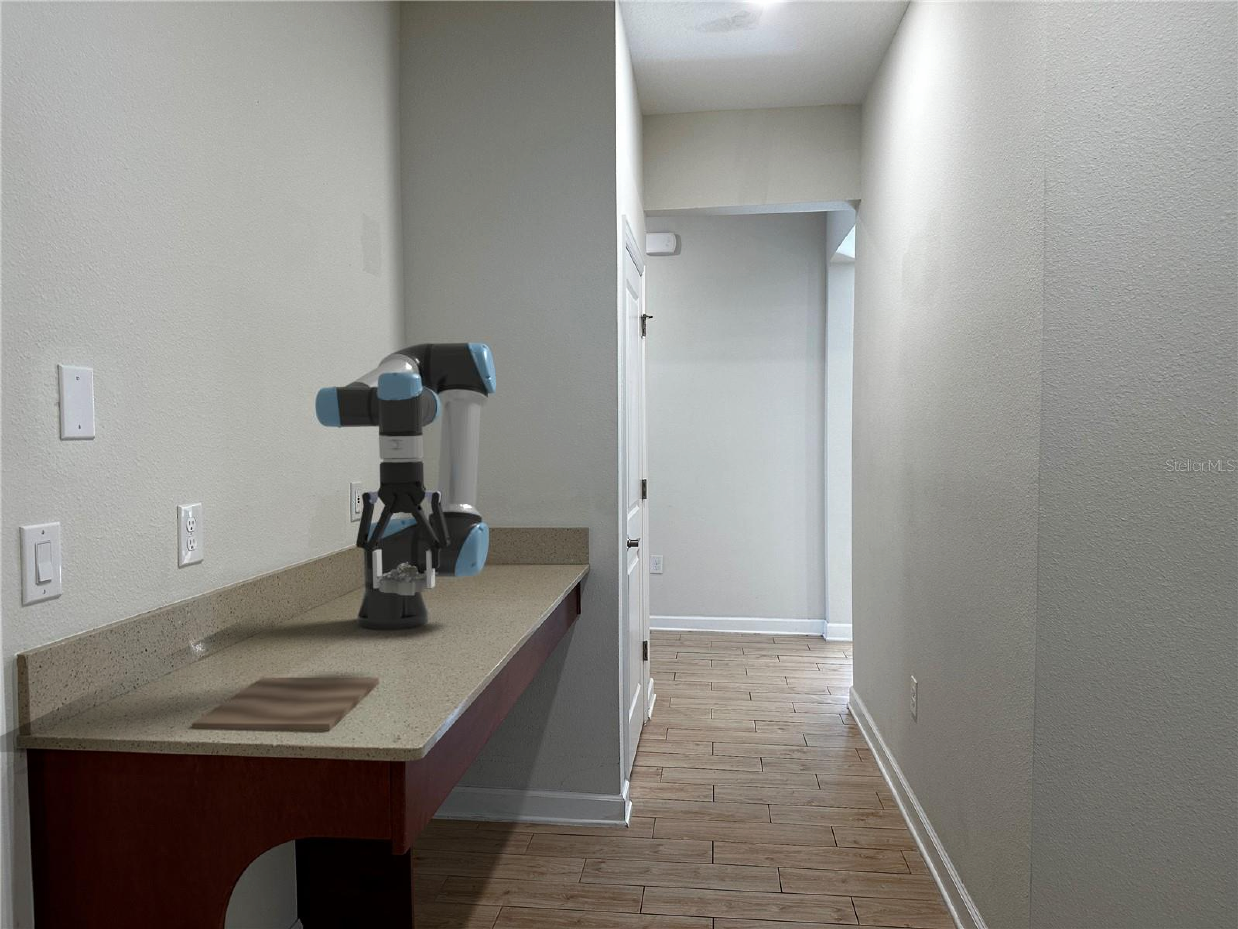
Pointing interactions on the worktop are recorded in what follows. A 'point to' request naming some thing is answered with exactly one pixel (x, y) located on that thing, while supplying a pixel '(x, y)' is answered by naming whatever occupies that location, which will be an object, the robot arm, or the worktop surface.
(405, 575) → the egg carton
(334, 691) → the walnut board
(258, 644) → the worktop surface
